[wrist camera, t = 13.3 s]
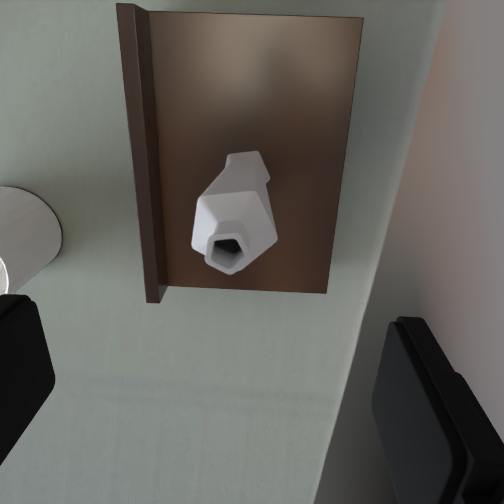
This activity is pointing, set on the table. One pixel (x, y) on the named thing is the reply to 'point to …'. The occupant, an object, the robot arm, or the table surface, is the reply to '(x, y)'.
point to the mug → (25, 237)
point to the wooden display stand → (237, 135)
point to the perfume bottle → (235, 215)
